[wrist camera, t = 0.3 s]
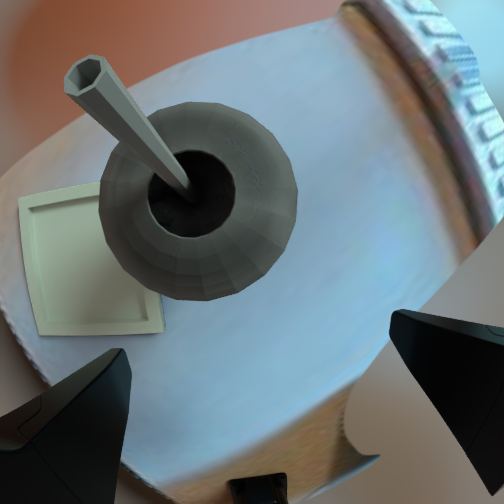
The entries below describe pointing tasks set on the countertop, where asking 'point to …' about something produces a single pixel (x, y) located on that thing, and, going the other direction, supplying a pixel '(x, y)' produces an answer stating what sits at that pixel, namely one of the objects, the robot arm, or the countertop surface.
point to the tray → (80, 269)
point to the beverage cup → (187, 190)
